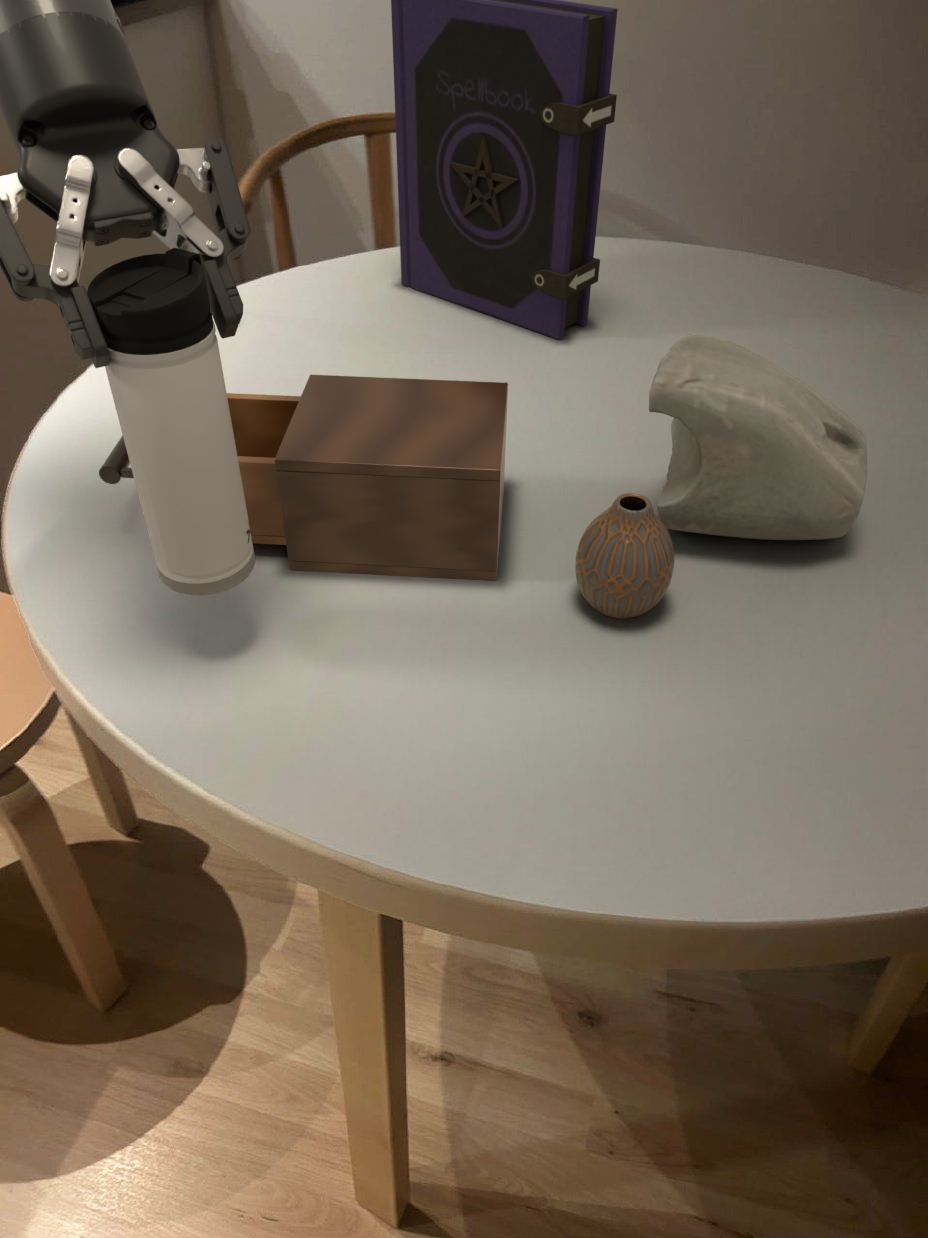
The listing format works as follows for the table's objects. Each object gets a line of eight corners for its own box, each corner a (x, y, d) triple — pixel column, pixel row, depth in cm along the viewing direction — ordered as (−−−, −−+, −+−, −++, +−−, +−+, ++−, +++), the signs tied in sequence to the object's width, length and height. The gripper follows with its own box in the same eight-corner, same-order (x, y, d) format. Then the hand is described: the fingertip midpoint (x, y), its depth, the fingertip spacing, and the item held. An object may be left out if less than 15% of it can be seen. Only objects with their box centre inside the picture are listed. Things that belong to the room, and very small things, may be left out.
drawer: (103, 545, 74) (77, 457, 68) (151, 464, 82) (131, 380, 77) (356, 559, 73) (348, 470, 67) (378, 475, 81) (372, 391, 76)
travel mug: (278, 555, 65) (233, 260, 51) (211, 609, 60) (144, 303, 47) (207, 526, 67) (147, 237, 54) (139, 577, 63) (55, 277, 50)
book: (399, 286, 114) (387, -13, 94) (433, 270, 118) (429, -21, 98) (560, 343, 103) (586, 17, 83) (593, 324, 106) (625, 8, 87)
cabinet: (289, 570, 73) (273, 459, 67) (321, 478, 83) (309, 373, 76) (496, 581, 72) (500, 470, 66) (503, 487, 82) (508, 382, 75)
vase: (666, 637, 68) (685, 536, 62) (568, 626, 68) (578, 526, 63) (666, 577, 73) (684, 479, 67) (575, 567, 74) (585, 470, 68)
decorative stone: (854, 578, 73) (917, 400, 63) (626, 554, 75) (652, 378, 65) (834, 490, 82) (887, 323, 72) (631, 471, 84) (655, 305, 74)
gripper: (180, 84, 58) (279, 344, 58) (-77, 115, 52) (34, 402, 53) (193, -6, 51) (305, 289, 51) (-102, 19, 45) (26, 350, 46)
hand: (167, 345), depth 52 cm, fingers closed on travel mug, 6 cm apart
